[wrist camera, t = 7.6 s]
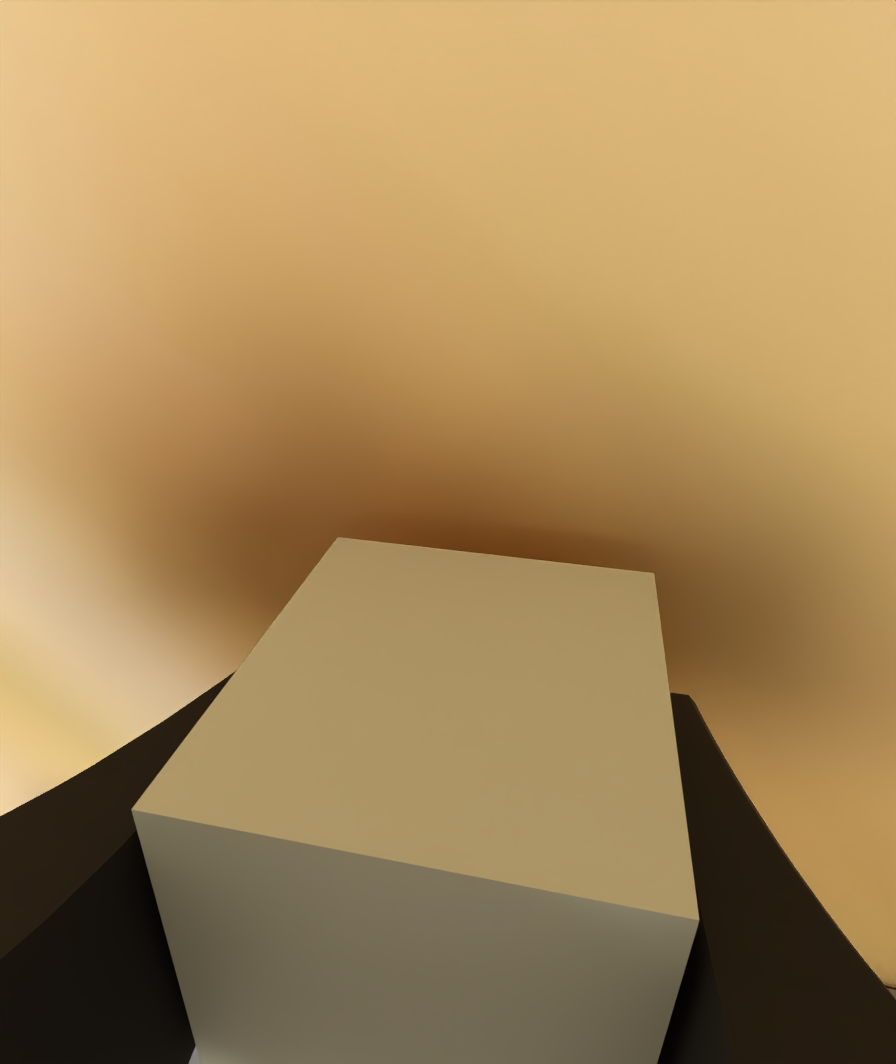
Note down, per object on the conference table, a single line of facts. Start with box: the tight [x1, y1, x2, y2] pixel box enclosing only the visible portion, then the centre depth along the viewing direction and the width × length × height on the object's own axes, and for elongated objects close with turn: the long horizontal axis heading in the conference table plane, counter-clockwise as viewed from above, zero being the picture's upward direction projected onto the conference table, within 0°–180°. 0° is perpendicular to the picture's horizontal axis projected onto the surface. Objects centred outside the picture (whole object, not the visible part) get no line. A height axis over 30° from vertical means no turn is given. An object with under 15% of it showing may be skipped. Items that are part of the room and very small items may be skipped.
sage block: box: [131, 537, 699, 1064], centre depth 8 cm, size 4×4×5 cm
